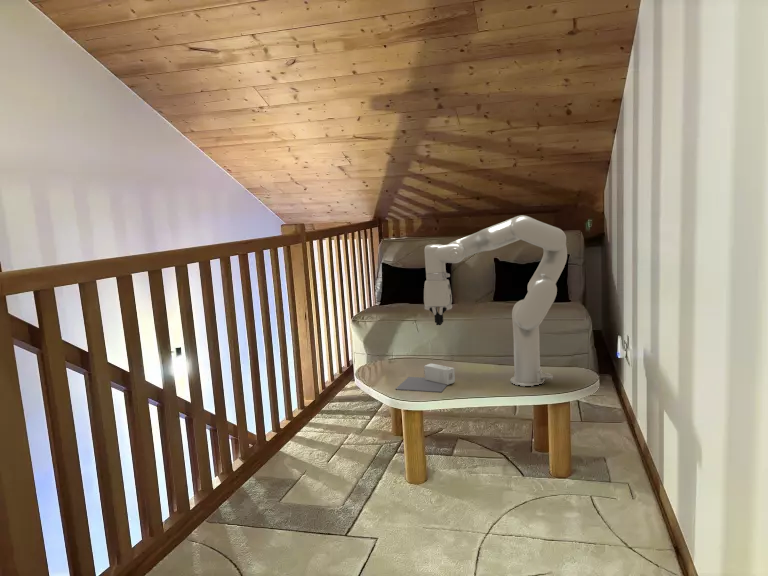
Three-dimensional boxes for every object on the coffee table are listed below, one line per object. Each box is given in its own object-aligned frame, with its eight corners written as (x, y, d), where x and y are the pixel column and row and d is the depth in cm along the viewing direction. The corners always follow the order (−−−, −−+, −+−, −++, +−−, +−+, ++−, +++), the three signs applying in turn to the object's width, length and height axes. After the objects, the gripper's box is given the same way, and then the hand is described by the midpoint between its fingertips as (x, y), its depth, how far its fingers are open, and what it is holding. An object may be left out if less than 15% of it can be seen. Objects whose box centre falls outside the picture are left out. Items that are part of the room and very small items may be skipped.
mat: (451, 379, 229) (451, 378, 229) (441, 392, 214) (441, 391, 214) (408, 377, 235) (408, 376, 235) (395, 389, 220) (395, 388, 220)
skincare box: (454, 367, 223) (431, 362, 232) (447, 370, 220) (423, 364, 229) (455, 383, 224) (431, 377, 233) (447, 385, 221) (424, 379, 230)
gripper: (457, 275, 220) (460, 322, 222) (419, 276, 225) (423, 322, 227) (453, 277, 213) (456, 326, 215) (414, 279, 218) (417, 326, 220)
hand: (439, 324), depth 221 cm, fingers closed
